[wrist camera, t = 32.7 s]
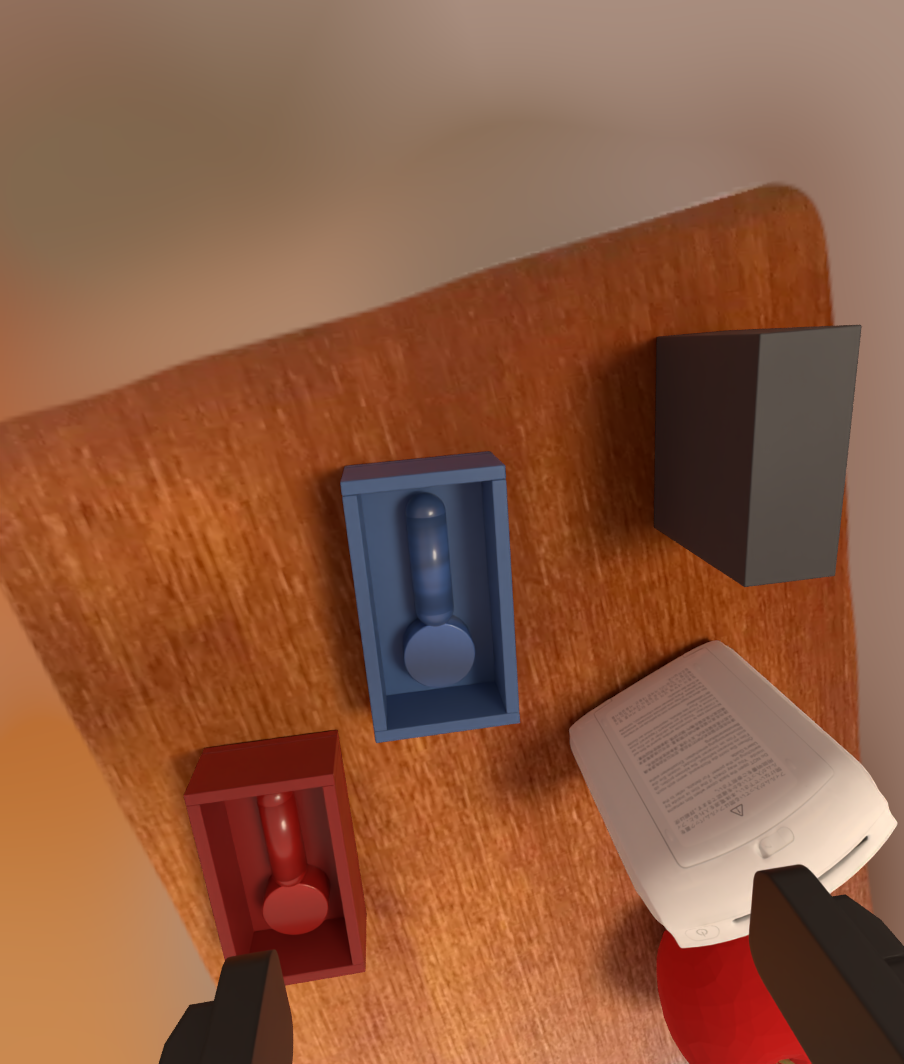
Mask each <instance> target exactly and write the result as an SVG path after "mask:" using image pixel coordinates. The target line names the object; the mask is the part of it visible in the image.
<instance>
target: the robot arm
mask: <svg viewBox="0 0 904 1064" xmlns="http://www.w3.org/2000/svg"><path fill="white" fill-rule="evenodd" d="M749 946H750V951H751V955H752V958H753V961H754V964H755V967H756V969H757V971H758V974H759V976H760V978H761V980H762V981H763V983H764V985H765V986H766V988H767V990H768V991H769V993H770V995H771V996H772V998H773V1000H774V1001H775V1003H776V1005H777V1006H778V1008H779V1010H780V1011H781V1013H782V1015H783V1016H784V1018H785V1020H786V1021H787V1023H788V1025H789V1026H790V1028H791V1030H792V1031H793V1033H794V1035H795V1036H796V1038H797V1040H798V1041H799V1043H800V1045H801V1046H802V1048H803V1050H804V1051H805V1053H806V1055H807V1056H808V1058H809V1060H810V1061H811V1063H812V1064H904V946H903V945H902V943H901V942H900V941H899V940H898V939H897V938H896V937H895V935H894V934H893V933H892V932H891V931H890V930H889V929H888V927H887V926H886V925H885V924H884V923H883V922H882V920H880V919H879V918H878V917H876V916H875V915H873V914H872V913H871V912H869V911H868V910H867V909H865V908H864V907H862V906H861V905H860V904H858V903H857V902H855V901H854V900H853V899H851V898H850V897H848V896H847V895H846V894H845V895H839V896H833V897H832V896H831V895H830V893H829V892H828V891H827V890H826V888H825V887H824V886H823V885H822V884H821V882H820V881H819V880H818V879H817V877H816V876H815V875H814V874H813V873H812V872H811V871H810V870H809V869H808V868H807V867H805V866H804V865H801V864H796V865H790V866H784V867H778V868H772V869H766V870H760V871H757V872H756V873H755V875H754V879H753V889H752V901H751V913H750V925H749ZM292 1060H293V1024H292V1016H291V1011H290V1006H289V1002H288V997H287V993H286V988H285V984H284V979H283V975H282V970H281V966H280V961H279V957H278V953H277V951H276V950H275V949H273V950H267V951H261V952H255V953H249V954H243V955H237V956H231V957H228V958H227V959H226V960H225V962H224V964H223V967H222V970H221V974H220V978H219V982H218V986H217V991H216V995H215V999H214V1001H210V1002H204V1003H198V1004H192V1005H189V1007H188V1008H187V1010H186V1011H185V1013H184V1015H183V1016H182V1018H181V1019H180V1021H179V1022H178V1024H177V1025H176V1027H175V1029H174V1030H173V1032H172V1033H171V1035H170V1036H169V1038H168V1039H167V1041H166V1043H165V1044H164V1048H163V1051H162V1054H161V1058H160V1061H159V1064H292Z"/></svg>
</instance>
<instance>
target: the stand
mask: <svg viewBox="0 0 904 1064" xmlns="http://www.w3.org/2000/svg"><path fill="white" fill-rule="evenodd" d="M860 334H861V325H843V326H819V327H796V328H772V329H749V330H729V331H717V332H706V333H694V334H683V335H671V336H660V337H657V354H656V421H655V488H654V528H656V529H657V530H659V531H660V532H662V533H663V534H665V535H666V536H668V537H669V538H671V539H672V540H674V541H675V542H677V543H678V544H680V545H681V546H683V547H685V548H686V549H688V550H689V551H691V552H692V553H694V554H695V555H697V556H698V557H700V558H701V559H703V560H704V561H706V562H707V563H709V564H710V565H712V566H713V567H715V568H716V569H718V570H720V571H721V572H723V573H724V574H726V575H727V576H729V577H730V578H732V579H733V580H735V581H736V582H738V583H739V584H741V585H742V586H744V587H749V586H757V585H765V584H773V583H781V582H789V581H797V580H805V579H813V578H821V577H829V576H835V570H836V560H837V551H838V542H839V532H840V523H841V513H842V504H843V495H844V485H845V476H846V467H847V457H848V448H849V439H850V429H851V419H852V411H853V401H854V392H855V382H856V373H857V364H858V354H859V345H860V336H861V335H860Z"/></svg>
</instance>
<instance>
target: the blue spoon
mask: <svg viewBox="0 0 904 1064" xmlns="http://www.w3.org/2000/svg"><path fill="white" fill-rule="evenodd" d="M405 515H406V524H407V534H408V543H409V553H410V562H411V572H412V582H413V591H414V601H415V610H416V614H417V616H418V618H417V619H416V620H415V621H413V622H412V623H411V624H410V626H409V627H408V628H407V630H406V632H405V635H404V638H403V658H404V664H405V667H406V670H407V672H408V673H409V675H410V676H411V677H412V678H413V679H414V680H415V681H417V682H418V683H420V684H422V685H424V686H427V687H432V688H444V687H448V686H452V685H454V684H456V683H458V682H459V681H461V680H462V679H463V678H464V677H466V676H467V674H468V673H469V672H470V670H471V668H472V666H473V664H474V661H475V646H474V643H473V640H472V637H471V634H470V631H469V629H468V627H467V625H466V624H465V623H464V622H463V621H462V620H461V619H460V618H458V617H457V616H455V615H453V611H454V601H453V589H452V578H451V566H450V554H449V542H448V531H447V519H446V509H445V505H444V503H443V502H442V500H441V499H440V498H439V497H438V496H436V495H435V494H432V493H428V492H423V493H419V494H417V495H415V496H413V497H412V498H411V499H410V500H409V502H408V504H407V506H406V511H405Z"/></svg>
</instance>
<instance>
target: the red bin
mask: <svg viewBox="0 0 904 1064" xmlns="http://www.w3.org/2000/svg"><path fill="white" fill-rule="evenodd" d="M288 791H294V794H295V799H296V804H297V810H298V815H299V820H300V826H301V831H302V836H303V842H304V847H305V852H306V858H307V864H310V865H313V866H315V867H317V868H319V869H321V870H322V871H323V872H324V873H325V874H326V876H327V877H328V879H329V882H330V898H329V909H328V914H327V916H326V918H325V920H324V921H323V922H322V924H321V925H319V926H318V927H317V928H316V929H314V930H312V931H310V932H307V933H304V934H298V935H288V934H283V933H280V932H277V931H275V930H274V929H272V928H271V927H270V926H269V925H268V924H267V923H266V922H265V920H264V917H263V914H262V906H263V901H264V896H265V891H266V886H267V883H268V881H269V879H270V877H271V876H272V871H271V867H270V862H269V857H268V852H267V848H266V843H265V838H264V833H263V828H262V824H261V819H260V814H259V809H258V805H257V800H256V796H260V795H267V794H274V793H281V792H288ZM184 800H185V804H186V806H187V811H188V815H189V819H190V823H191V827H192V831H193V835H194V839H195V843H196V847H197V851H198V855H199V859H200V863H201V867H202V871H203V875H204V879H205V883H206V887H207V891H208V895H209V899H210V903H211V907H212V911H213V915H214V919H215V923H216V927H217V931H218V935H219V939H220V943H221V947H222V951H223V955H224V959H225V960H226V959H227V958H228V957H231V956H237V955H243V954H249V953H255V952H261V951H267V950H273V949H275V950H276V951H277V953H278V957H279V961H280V966H281V970H282V975H283V979H284V984H285V985H291V984H297V983H302V982H308V981H314V980H320V979H326V978H332V977H338V976H343V975H349V974H355V973H361V972H365V968H366V916H367V913H366V907H365V901H364V894H363V888H362V882H361V875H360V869H359V863H358V856H357V850H356V843H355V837H354V831H353V824H352V818H351V812H350V805H349V799H348V793H347V786H346V780H345V773H344V767H343V761H342V754H341V748H340V742H339V735H338V731H337V730H334V731H327V732H320V733H312V734H305V735H298V736H291V737H283V738H276V739H269V740H261V741H254V742H247V743H240V744H232V745H225V746H218V747H210V748H204V750H203V752H202V755H201V756H200V759H199V761H198V763H197V766H196V768H195V770H194V773H193V775H192V777H191V780H190V782H189V784H188V786H187V789H186V791H185V793H184Z"/></svg>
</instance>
